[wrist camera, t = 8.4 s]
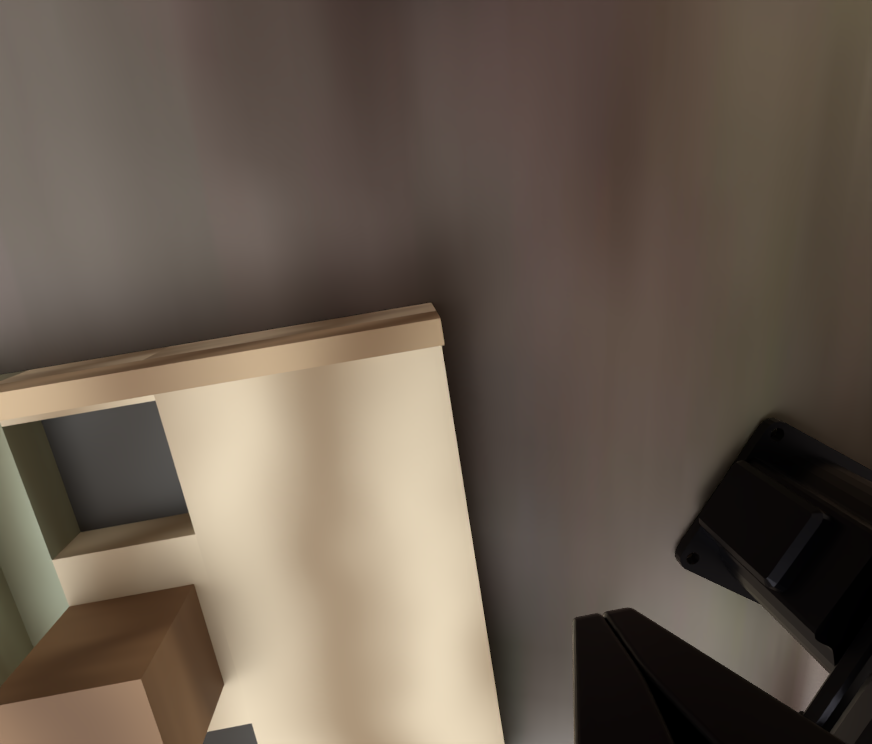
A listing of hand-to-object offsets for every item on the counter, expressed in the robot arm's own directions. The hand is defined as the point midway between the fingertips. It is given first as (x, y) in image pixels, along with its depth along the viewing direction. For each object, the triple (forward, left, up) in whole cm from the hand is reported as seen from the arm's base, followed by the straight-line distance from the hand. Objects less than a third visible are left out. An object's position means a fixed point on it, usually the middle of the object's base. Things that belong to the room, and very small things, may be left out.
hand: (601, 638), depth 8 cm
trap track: (+3, +10, -12) cm, 16 cm away
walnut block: (+6, +12, -10) cm, 17 cm away
